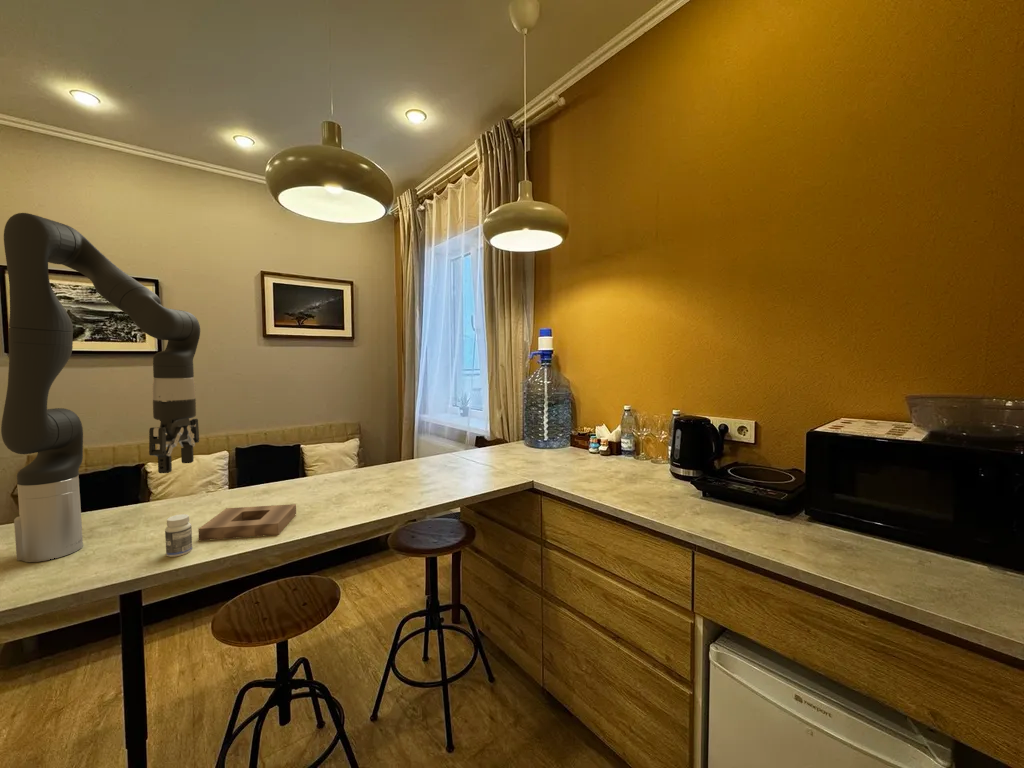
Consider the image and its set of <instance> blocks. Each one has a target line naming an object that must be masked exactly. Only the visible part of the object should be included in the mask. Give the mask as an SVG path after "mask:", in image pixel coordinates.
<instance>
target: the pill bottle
mask: <svg viewBox="0 0 1024 768" xmlns="http://www.w3.org/2000/svg"><path fill="white" fill-rule="evenodd" d="M192 529H193V528H192V523H190V515H189V514H187V513H186V514H184V513H183V514H175V515H171V516H169V517H168V518H167V519H166V527H165V530H164V532H165V533H164V535H165V536H164V537H165V539H164V540H165V553H166V554H165V555H166V557H169V558H170V557H171V558H176V557H180V556H183V555H186V554H189V553H190V552H192V550H193V536H192V535H193V531H192Z"/></svg>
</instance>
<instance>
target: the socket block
mask: <svg viewBox="0 0 1024 768" xmlns="http://www.w3.org/2000/svg"><path fill="white" fill-rule="evenodd" d="M295 514H296V515H297V504H295V503H294V504H291V503H290V504H278V505H277V504H274V505H262V506H261V505H260V506H259V505H258V506H244V507H243V506H242V507H226V508H225V509H223V510H222V511H220V512H219V513H218V514H216V515H215V516H214V517H213V518H211V519H209V521H207V522H205V523H204V524H203V525H201V527H199V528H198V541H199V540H201V541H211V540H210V539H215V540H224V539H223V538H228V539H237V538H236V537H242V538H251V537H250V536H256V537H264V536H263V535H269V536H279V535H280V534H281V532H282V531H283V530H284V529H286V527H287V525H288V524H289V523H290V522H291V521H292V520H293V519H294V518H295V516H296V515H295ZM292 518H293V519H292ZM291 519H292V520H291Z"/></svg>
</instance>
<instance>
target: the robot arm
mask: <svg viewBox="0 0 1024 768" xmlns="http://www.w3.org/2000/svg"><path fill="white" fill-rule="evenodd" d="M3 246H4V253H5V254H4V255H5V261H6V262H5V263H6V267H7V268H6V269H7V276H8V286H9V289H8V291H9V321H8V373H7V374H8V377H7V387H6V388H7V389H6V395H5V400H4V401H5V402H4V405H3V406H4V407H3V413H2V418H1V424H0V425H1V428H0V433H1V439H2V441H3V444H4V445H5V447H6V448H7V449H8V450H10V451H11V452H13V453H14V454H17V455H29V454H36V453H37V454H36V456H35V458H34V459H33V460H32V461H31V462H30V463H28V464H27V465H26V466H24V467H22V468H21V469H20V470H19V471H18V472H17V473H16V483H17V496H18V497H17V501H18V514H19V516H16V517H15V518H14V519H13V524H14V525H13V526H14V540H15V541H14V542H15V551H16V553H15V554H16V561H23V562H24V563H25V562H26V563H38V562H44V561H49V560H50V559H51V560H54V558H55V559H59V558H61V557H64V556H68V555H71V554H74V553H75V552H77V551H79V550H81V549H82V548H83V547H84V542H83V541H84V540H83V525H82V523H83V522H82V509H81V507H82V506H81V505H82V504H81V493H80V478H79V477H80V476H79V475H80V473H79V469H80V467H81V465H82V464H83V457H84V430H83V429H84V427H83V424H82V421H81V419H80V417H79V416H78V414H77V413H76V412H74V411H73V410H70V409H67V408H62V407H55V408H48V398H49V394H50V393H49V392H50V389H51V387H52V385H53V383H54V382H55V380H56V378H57V377H58V376H59V375H60V373H61V371H63V369H64V367H65V366H66V364H68V362H69V359H70V358H71V355H72V352H73V347H74V346H73V344H74V341H73V340H74V339H73V337H74V336H73V335H74V334H73V332H74V326H73V321H72V319H71V318H70V316H69V314H68V312H67V310H66V309H65V307H64V305H63V304H62V303H61V301H60V300H59V298H58V297H57V295H56V294H55V292H54V290H53V288H52V286H51V282H50V278H49V277H50V276H49V263H50V264H53V265H62V266H65V267H67V268H70V269H71V270H74V271H76V272H78V273H80V275H83V276H85V277H87V279H89V281H90V282H92V285H93V287H94V288H95V290H96V291H97V293H98V294H99V295H100V296H101V297H102V298H103V299H104V300H106V301H107V302H109V303H110V304H111V305H112V306H114V307H116V308H117V309H119V311H122V312H123V313H125V314H127V315H128V316H129V318H130V319H131V320H132V321H133V322H134V324H135V325H136V326H137V327H138V329H140V331H142V332H143V333H145V334H146V335H148V336H149V337H152V338H154V339H157V340H162V341H167V344H166V347H165V349H163V350H162V351H159V352H155V354H153V357H152V358H153V359H152V365H153V366H152V374H153V382H152V392H151V393H152V415H153V416H152V417H153V419H154V420H157V421H160V425H159V427H157V426H155V427H150V428H149V430H148V431H149V433H148V434H149V435H148V436H149V437H148V440H149V441H148V442H149V443H148V446H149V447H148V450H149V451H148V455H149V456H154V457H156V458H157V473H159V474H169V473H171V472H172V471H173V467H172V463H173V462H172V452H173V450H174V448H176V447H177V446H178V443H179V445H180V453H181V455H180V457H181V459H180V460H181V463H182V464H192V463H194V461H195V460H194V457H195V456H194V447H196V443H197V444H198V443H199V442H200V433H199V432H200V429H199V428H200V427H199V419H198V418H195V417H196V416H197V405H196V404H197V402H196V401H197V399H196V384H195V379H194V377H195V375H194V373H195V372H194V358H195V355H196V352H197V348H198V345H199V340H200V337H201V326H200V325H201V324H200V323H199V320H198V319H197V317H196V316H195V315H194V314H193V313H191V312H189V311H186V310H180V309H173V308H167V307H165V306H163V305H162V301H161V298H160V297H159V296H158V295H157V294H156V293H155V292H153V291H152V290H151V289H150V288H148V287H147V286H145V285H143V284H142V283H141V282H140V281H138V280H136V279H135V278H133V277H132V276H131V275H129V274H128V273H126V272H125V271H123V270H122V269H120V267H118V266H117V265H116V264H115V263H113V262H112V261H111V260H109V258H107V257H106V256H105V254H103V253H102V252H101V251H99V249H98V248H97V247H95V246H94V245H93V244H92V242H90V241H89V240H88V238H86V237H85V236H84V235H83V234H82V233H81V232H79V231H78V229H77V230H76V229H75V228H73V226H70V225H68V224H64V223H62V222H60V221H55V220H53V219H49V218H45V217H43V216H39V215H36V214H32V213H28V212H18V213H15V214H13V215H12V216H10V217H8V220H7V221H6V223H5V225H4V229H3ZM156 446H157V448H156Z"/></svg>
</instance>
